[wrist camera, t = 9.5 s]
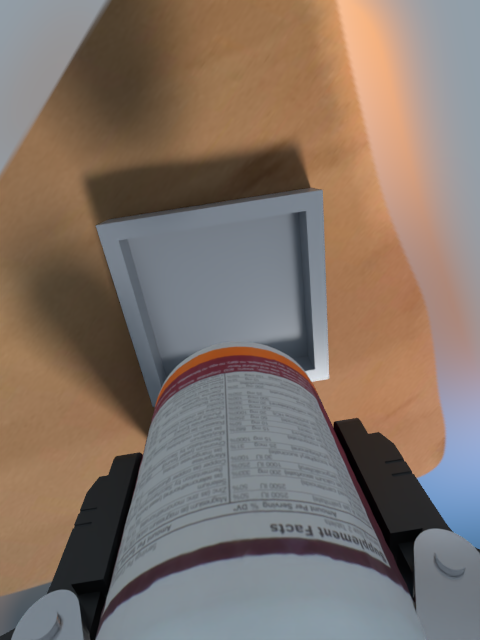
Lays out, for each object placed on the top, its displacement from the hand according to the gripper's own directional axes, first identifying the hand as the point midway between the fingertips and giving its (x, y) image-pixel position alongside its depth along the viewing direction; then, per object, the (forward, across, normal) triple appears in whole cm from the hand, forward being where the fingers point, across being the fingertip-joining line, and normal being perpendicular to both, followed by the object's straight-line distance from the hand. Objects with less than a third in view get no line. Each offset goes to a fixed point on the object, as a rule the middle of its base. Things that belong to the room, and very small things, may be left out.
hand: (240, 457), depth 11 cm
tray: (+15, 0, 0) cm, 15 cm away
